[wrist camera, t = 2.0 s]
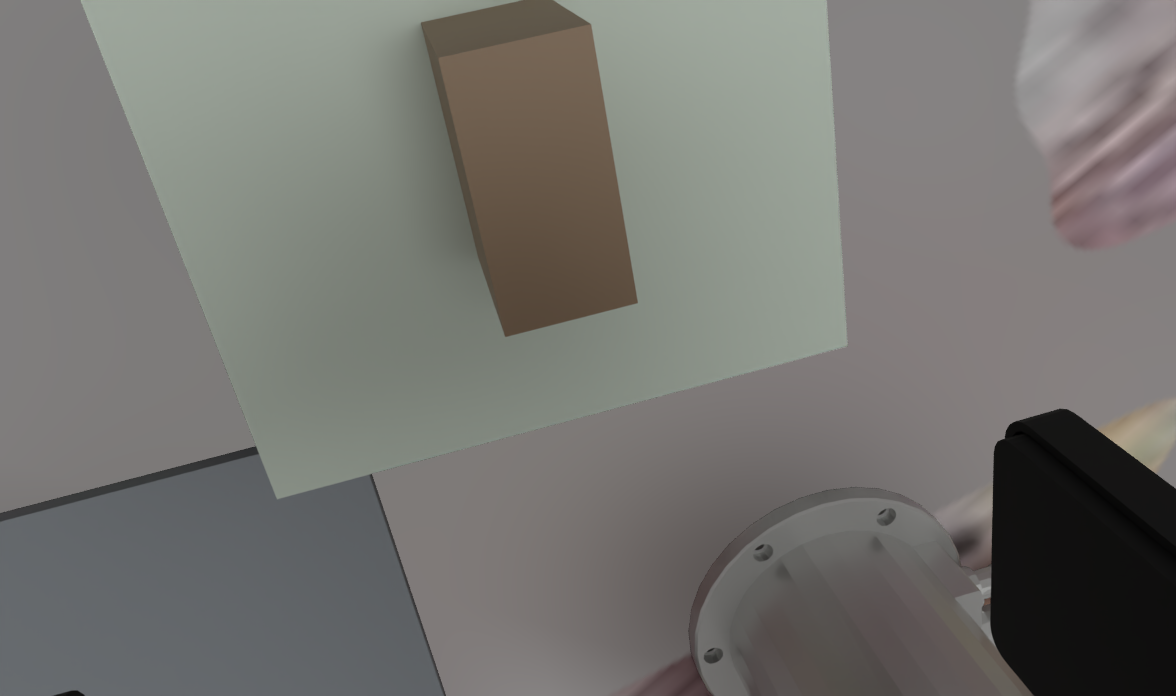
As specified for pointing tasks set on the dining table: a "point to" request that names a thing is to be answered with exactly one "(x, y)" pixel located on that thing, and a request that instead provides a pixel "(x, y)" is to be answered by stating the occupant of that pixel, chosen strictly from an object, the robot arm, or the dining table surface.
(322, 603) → the mat
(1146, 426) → the dining table surface
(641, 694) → the dining table surface
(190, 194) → the lid
